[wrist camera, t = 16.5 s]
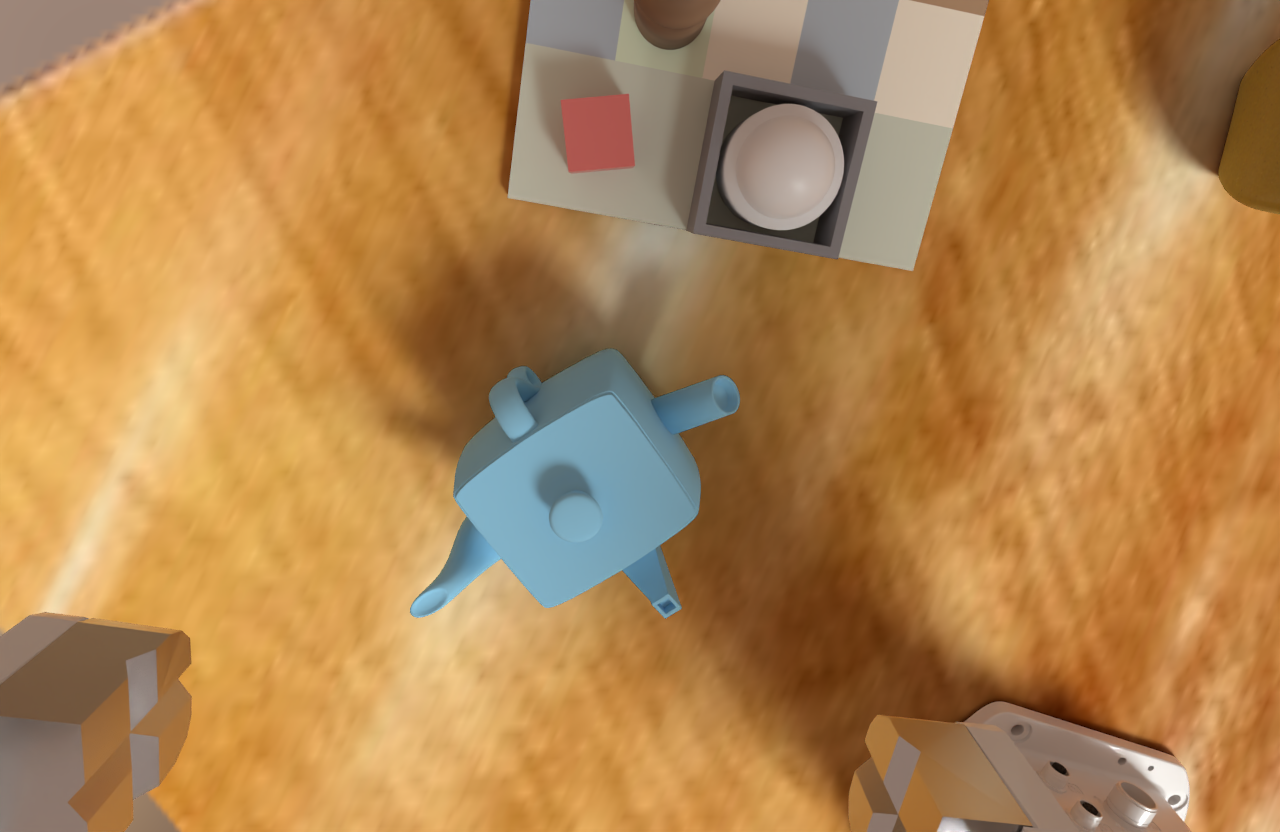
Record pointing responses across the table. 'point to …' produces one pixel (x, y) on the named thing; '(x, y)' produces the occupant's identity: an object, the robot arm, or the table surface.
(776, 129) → the dome
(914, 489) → the table surface
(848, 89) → the board
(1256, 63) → the flower pot
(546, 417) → the teapot
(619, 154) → the red cube
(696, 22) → the pawn
